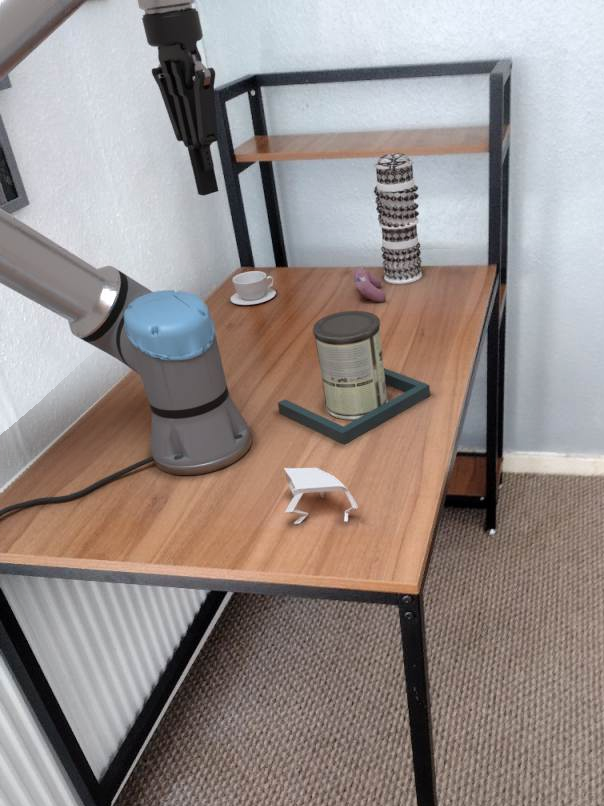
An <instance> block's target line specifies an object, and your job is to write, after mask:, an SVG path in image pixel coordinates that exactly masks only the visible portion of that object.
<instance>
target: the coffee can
mask: <svg viewBox="0 0 604 806" xmlns="http://www.w3.org/2000/svg"><path fill="white" fill-rule="evenodd" d="M380 327H381V321H380V318H379V317H378V315H376V314H375V313H372V312H369V311H365V310H346V311H339V312H335V313H331V314H328V315H325V316H324V317H322V318H320V319H318V320H317V321H316V322H315V323H314V324H313V326H312V332H313V335H314V338H315V346H316V351H317V352H316V353H317V357H318V365H319V371H320V376H321V383H322V388H323V395H324V401H325V409H326V413H328V414H329V415H330V416H332V417H333V418H336V419H339V420H344V421H346V420H347V421H354V420H356V419H358V418H360V417H361V416H363V415H365V414H367V413H369V412H371V411H372V410H374V409H376V408H378V407H380V406H381V405H383V404H385V403H387V402H389V399H388V395H387V385H386V384H385V375H384V368H385V366H384V357H383V347H382V339H381V329H380Z"/></svg>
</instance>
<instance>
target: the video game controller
mask: <svg viewBox="0 0 604 806" xmlns="http://www.w3.org/2000/svg"><path fill="white" fill-rule="evenodd" d="M352 274H353V275H354V277H353V281H354V283H355V285H356V287H357V289H358V291H359V292H360V293H361V295H362V296H363V298H366V300H371V301H373V302H377V303H383V302H385V301H386V298H387V297H386V294H385V293H384V292H383V291H382V289H380V288H381V286H382V281H381V279H380V278H379V277H378V276H376V275H374V274H373V273H371V272H370V271H368V270H367V268H364V267H363V266H361V267H360V268H356V269H355V270H353V273H352Z"/></svg>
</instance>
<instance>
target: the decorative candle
mask: <svg viewBox="0 0 604 806" xmlns="http://www.w3.org/2000/svg"><path fill="white" fill-rule="evenodd" d="M414 163H415V162H414V161H413V160H412V159H410V158H409V156H408V155H407V154H406V153H400V152H399V153H398V152H397V153H396V152H395V153H387V154H384V155H382V156H380V157H379V158H378V161H377V163H375V164H374V166H373V167H374V168H375V171H376V186H375V187H374V190H373V193H374V195H375V196H376V197H375V204H376V208H375V209H376V211H377V213H378V217H377V221H378V223H379V224H378V225H379V227H380V228H381V236H382V237H381V245H382V246H381V247H380V250H381V252H382V254H381V257H382V260H383V261H382V264H381V265H382V267H383V269H382V272H383V274H384V276H383V277H384V278H383V279H384V281H385V282H387V283H390V284H393V285H394V284H395V285H404V284H410V283H414V282H416V281H418V280H420V279H421V278H422V277H423V274H422V269H423V267H422V262H423V261H422V259H421V254H422V252H421V249H420V248H421V244H420V242H419V233H418V228H417V227H418V225H417V224H418V223H419V218H418V216H419V215H420V212H419V211H417V209H418V208H419V204H418V203H416V202H415V201H416V200H417V199H418V198H419V194H418V193H416V192H417V191H419V186H418V185H416V184H415V177H414V169H413V165H414Z"/></svg>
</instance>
